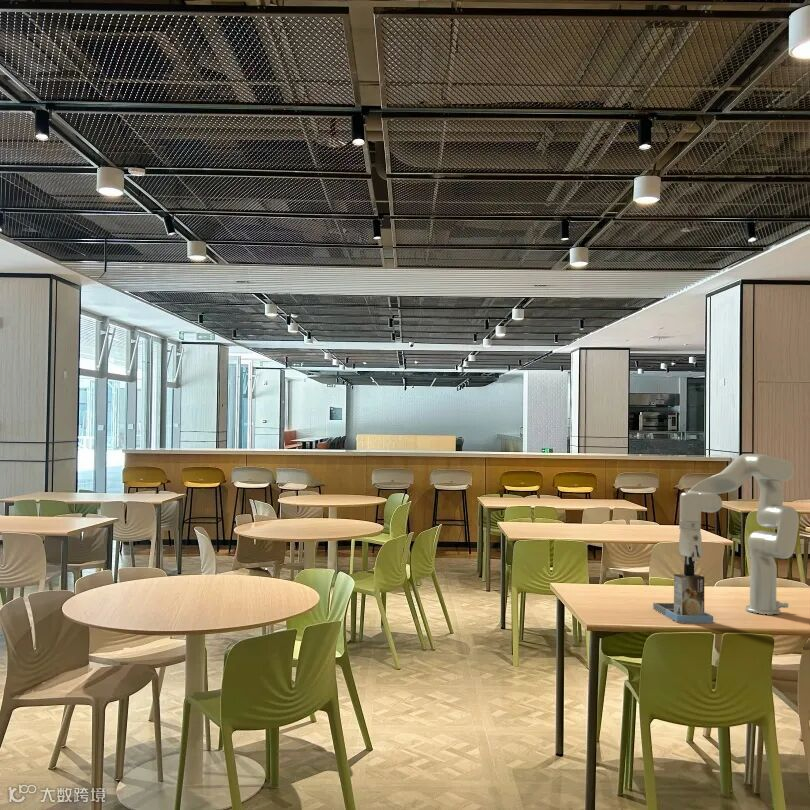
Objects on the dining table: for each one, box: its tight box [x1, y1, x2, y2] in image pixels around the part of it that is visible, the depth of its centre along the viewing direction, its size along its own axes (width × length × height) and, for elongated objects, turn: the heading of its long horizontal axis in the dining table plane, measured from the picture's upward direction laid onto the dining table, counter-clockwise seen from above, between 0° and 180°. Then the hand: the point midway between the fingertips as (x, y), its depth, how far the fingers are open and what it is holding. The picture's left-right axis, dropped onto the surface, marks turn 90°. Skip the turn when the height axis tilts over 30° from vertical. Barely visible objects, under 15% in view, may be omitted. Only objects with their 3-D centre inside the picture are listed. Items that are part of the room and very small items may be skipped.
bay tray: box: [652, 602, 714, 624], centre depth 300 cm, size 14×22×2 cm, turn 5°
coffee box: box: [673, 573, 705, 616], centre depth 295 cm, size 9×6×16 cm
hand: (689, 575), depth 295 cm, fingers closed
